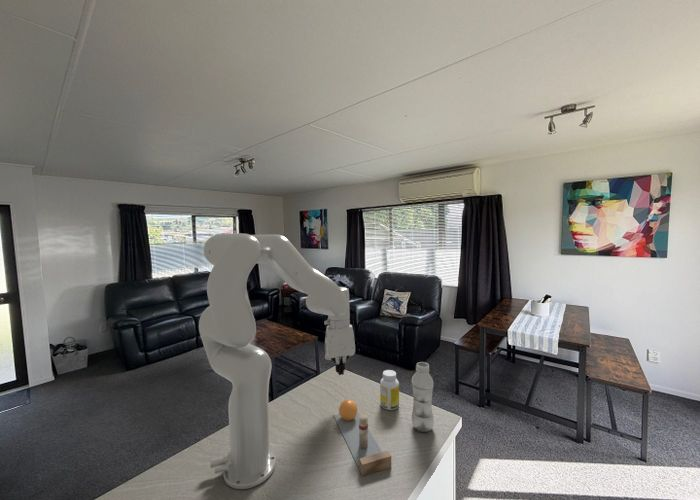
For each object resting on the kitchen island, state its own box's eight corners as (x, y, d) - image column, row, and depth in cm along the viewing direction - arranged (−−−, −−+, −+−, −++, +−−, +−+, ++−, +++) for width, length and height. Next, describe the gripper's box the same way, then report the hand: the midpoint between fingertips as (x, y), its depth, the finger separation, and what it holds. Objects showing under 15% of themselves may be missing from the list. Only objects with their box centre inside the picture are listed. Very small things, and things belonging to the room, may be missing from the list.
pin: (361, 451, 79) (360, 421, 78) (357, 444, 81) (357, 415, 80) (369, 448, 79) (369, 419, 79) (365, 442, 82) (365, 413, 81)
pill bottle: (401, 403, 101) (402, 371, 100) (394, 413, 95) (394, 379, 95) (385, 398, 104) (385, 367, 103) (377, 407, 99) (377, 374, 98)
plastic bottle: (434, 436, 84) (435, 370, 83) (411, 433, 85) (411, 368, 84) (432, 422, 90) (433, 360, 89) (411, 420, 92) (411, 359, 91)
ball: (342, 426, 89) (342, 408, 88) (336, 415, 94) (336, 397, 94) (360, 422, 91) (360, 404, 90) (353, 411, 96) (353, 394, 96)
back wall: (362, 476, 70) (362, 464, 70) (359, 470, 72) (359, 458, 72) (391, 467, 73) (391, 455, 73) (387, 461, 75) (387, 450, 75)
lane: (357, 466, 73) (357, 466, 73) (333, 416, 94) (333, 415, 94) (386, 458, 76) (386, 457, 76) (356, 410, 97) (356, 410, 97)
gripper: (320, 328, 94) (322, 382, 95) (362, 323, 99) (363, 374, 100) (315, 322, 101) (317, 372, 102) (355, 317, 106) (356, 364, 107)
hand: (340, 373), depth 101 cm, fingers closed
